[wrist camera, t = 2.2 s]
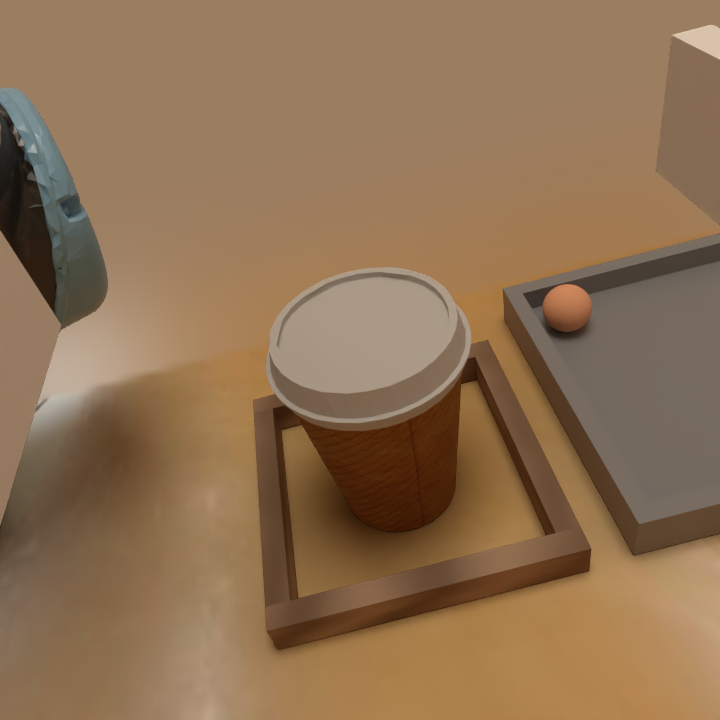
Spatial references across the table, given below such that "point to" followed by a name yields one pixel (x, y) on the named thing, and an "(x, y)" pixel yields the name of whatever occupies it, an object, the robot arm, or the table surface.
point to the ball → (567, 308)
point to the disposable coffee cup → (377, 388)
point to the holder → (425, 584)
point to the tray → (638, 385)
